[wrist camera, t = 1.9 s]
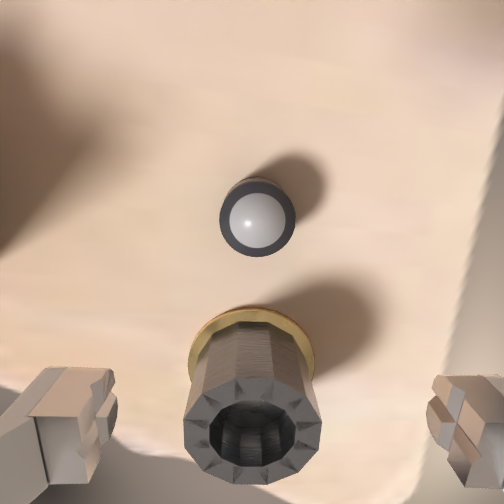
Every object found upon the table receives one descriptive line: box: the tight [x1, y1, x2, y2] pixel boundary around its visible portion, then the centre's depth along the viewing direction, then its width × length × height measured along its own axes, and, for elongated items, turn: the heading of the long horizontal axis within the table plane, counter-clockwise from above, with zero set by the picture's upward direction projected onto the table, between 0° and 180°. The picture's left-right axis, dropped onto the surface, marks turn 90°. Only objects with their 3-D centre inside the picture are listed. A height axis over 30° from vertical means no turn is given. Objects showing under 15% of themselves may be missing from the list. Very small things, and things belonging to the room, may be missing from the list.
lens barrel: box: [183, 308, 322, 485], centre depth 31 cm, size 13×13×9 cm
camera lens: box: [219, 177, 295, 257], centre depth 28 cm, size 6×6×4 cm
